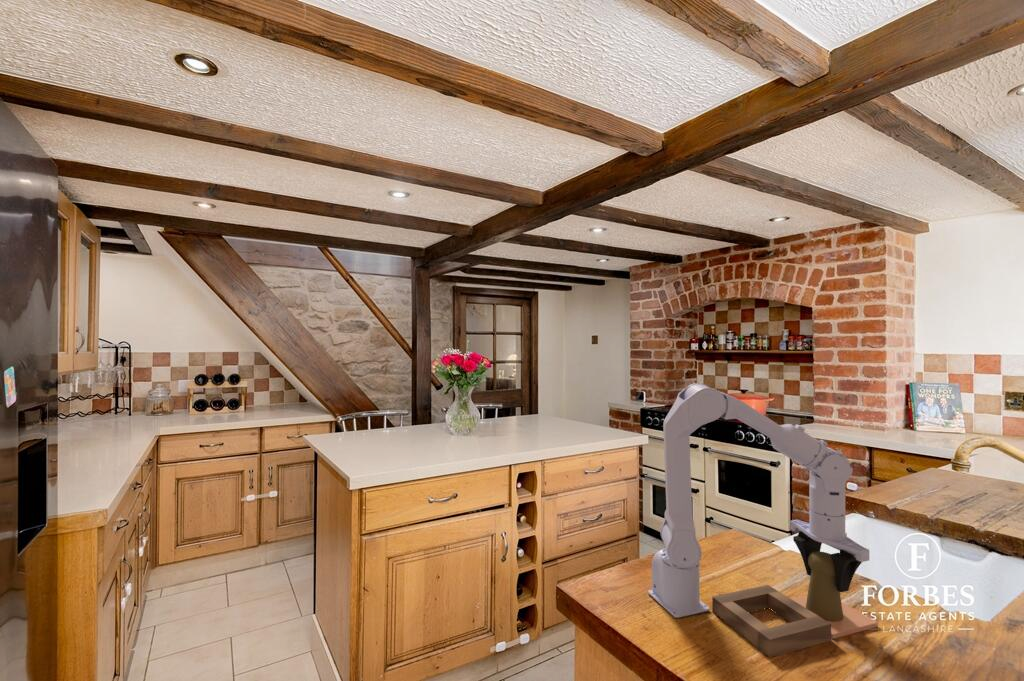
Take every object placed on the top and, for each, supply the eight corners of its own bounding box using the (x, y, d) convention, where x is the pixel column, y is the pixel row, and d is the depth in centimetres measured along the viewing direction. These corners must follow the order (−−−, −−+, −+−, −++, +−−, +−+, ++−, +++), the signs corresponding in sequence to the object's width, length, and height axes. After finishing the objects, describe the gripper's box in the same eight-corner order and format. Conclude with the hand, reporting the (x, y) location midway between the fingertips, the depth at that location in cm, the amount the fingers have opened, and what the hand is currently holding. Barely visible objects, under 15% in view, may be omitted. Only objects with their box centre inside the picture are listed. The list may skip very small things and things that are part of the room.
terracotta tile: (780, 605, 94) (780, 601, 94) (822, 595, 97) (822, 591, 97) (832, 638, 84) (832, 634, 84) (877, 626, 87) (877, 622, 87)
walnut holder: (712, 611, 92) (712, 596, 92) (768, 599, 96) (768, 584, 96) (769, 657, 79) (769, 639, 79) (831, 640, 83) (831, 623, 83)
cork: (833, 604, 93) (833, 548, 93) (850, 623, 87) (850, 563, 87) (800, 601, 94) (800, 546, 94) (814, 620, 88) (813, 561, 88)
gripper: (881, 522, 85) (881, 598, 85) (808, 496, 98) (809, 561, 99) (852, 528, 82) (852, 605, 83) (782, 500, 96) (782, 566, 96)
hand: (827, 582), depth 90 cm, fingers open, 6 cm apart
